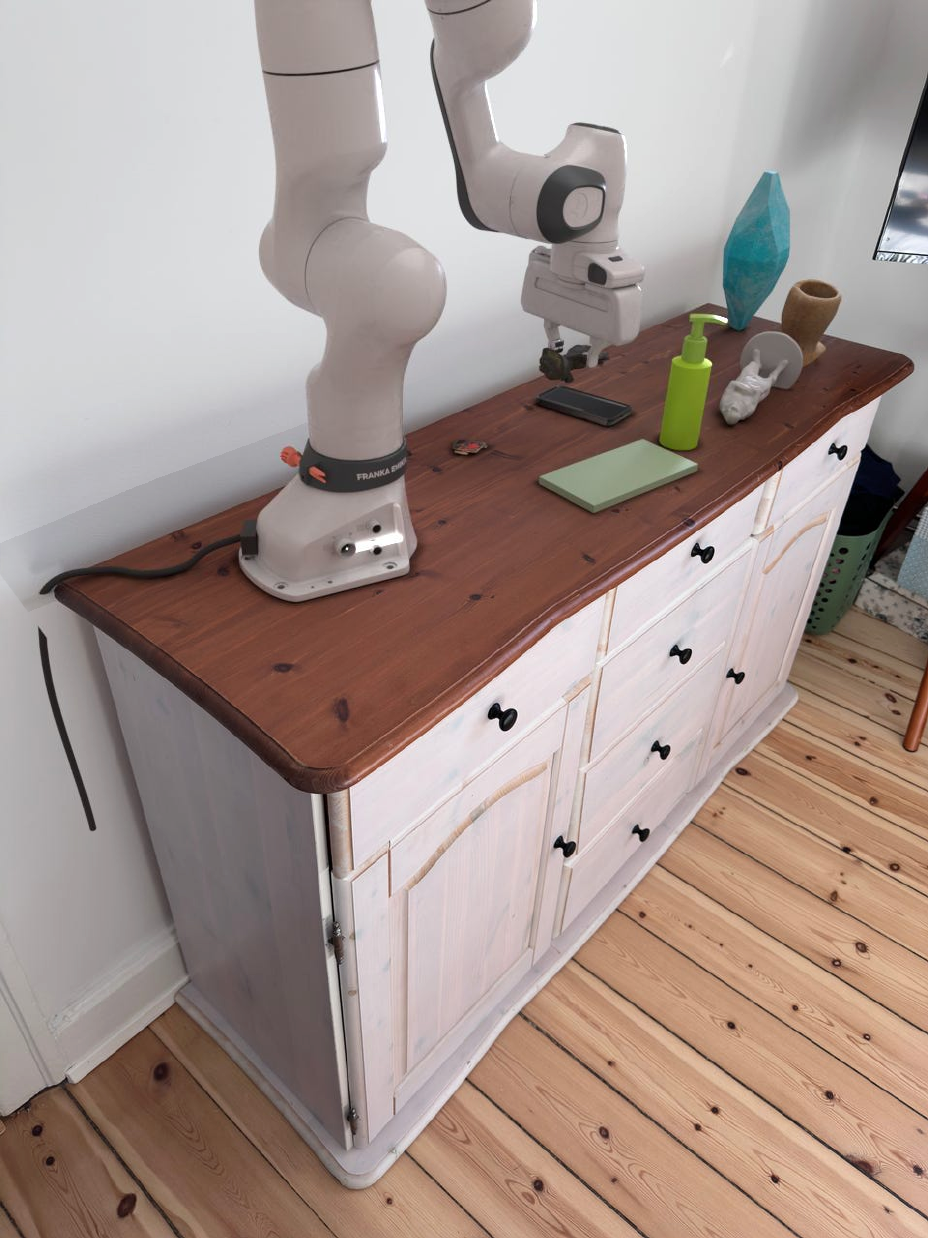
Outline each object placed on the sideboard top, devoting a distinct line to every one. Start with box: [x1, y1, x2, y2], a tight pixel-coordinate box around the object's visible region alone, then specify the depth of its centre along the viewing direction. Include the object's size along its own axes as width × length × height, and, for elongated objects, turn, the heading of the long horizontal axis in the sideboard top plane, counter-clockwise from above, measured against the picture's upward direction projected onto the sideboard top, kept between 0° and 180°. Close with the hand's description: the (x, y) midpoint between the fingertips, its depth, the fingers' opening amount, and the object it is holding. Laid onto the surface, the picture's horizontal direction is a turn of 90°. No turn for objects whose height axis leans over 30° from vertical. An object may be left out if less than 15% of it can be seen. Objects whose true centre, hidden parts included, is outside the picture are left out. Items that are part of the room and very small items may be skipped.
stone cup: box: [780, 278, 842, 368], centre depth 174 cm, size 15×12×15 cm
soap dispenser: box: [659, 313, 728, 451], centre depth 140 cm, size 6×7×20 cm
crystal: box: [722, 170, 791, 331], centre depth 186 cm, size 12×14×30 cm
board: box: [538, 438, 699, 514], centre depth 135 cm, size 22×11×1 cm, turn 129°
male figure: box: [719, 330, 803, 425], centre depth 158 cm, size 11×10×25 cm
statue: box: [538, 344, 611, 384], centre depth 133 cm, size 6×6×20 cm
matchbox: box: [452, 439, 488, 455], centre depth 142 cm, size 5×5×1 cm
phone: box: [535, 385, 633, 427], centre depth 156 cm, size 8×1×15 cm
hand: (572, 358), depth 133 cm, fingers closed on statue, 5 cm apart
